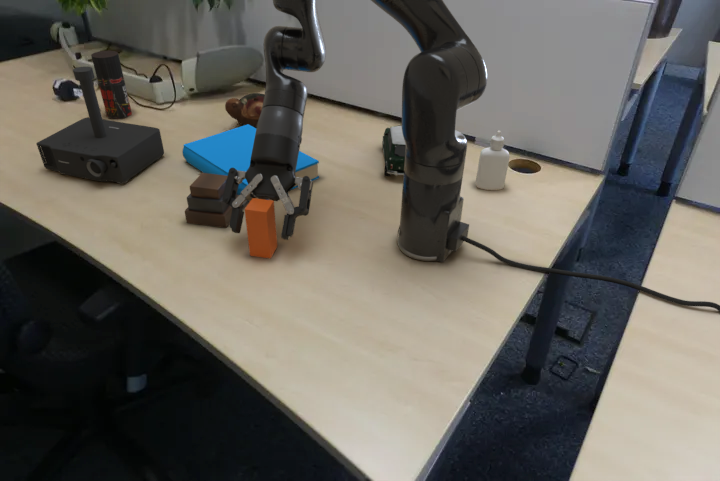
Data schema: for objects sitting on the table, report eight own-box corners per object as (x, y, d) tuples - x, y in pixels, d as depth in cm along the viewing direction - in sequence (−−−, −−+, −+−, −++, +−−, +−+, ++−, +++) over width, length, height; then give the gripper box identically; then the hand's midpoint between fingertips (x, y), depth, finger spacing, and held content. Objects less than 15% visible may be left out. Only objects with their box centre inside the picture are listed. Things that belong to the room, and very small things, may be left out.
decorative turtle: (219, 126, 133) (215, 93, 129) (272, 116, 141) (271, 85, 137) (239, 138, 126) (236, 104, 122) (293, 126, 135) (292, 94, 131)
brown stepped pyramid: (241, 206, 103) (237, 173, 99) (226, 227, 97) (221, 193, 93) (204, 201, 104) (198, 168, 100) (186, 222, 98) (180, 188, 94)
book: (247, 123, 125) (319, 158, 110) (249, 141, 127) (320, 177, 113) (179, 145, 115) (249, 187, 100) (183, 164, 117) (252, 207, 103)
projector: (37, 175, 111) (2, 78, 100) (93, 142, 124) (68, 53, 113) (117, 190, 107) (91, 91, 95) (167, 155, 120) (148, 63, 108)
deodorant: (107, 111, 139) (92, 51, 131) (132, 109, 141) (118, 49, 132) (106, 120, 135) (89, 58, 126) (131, 117, 136) (117, 56, 128)
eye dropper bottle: (481, 178, 114) (490, 124, 107) (506, 186, 111) (517, 131, 104) (472, 186, 111) (480, 131, 104) (498, 194, 108) (508, 138, 101)
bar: (277, 246, 93) (273, 200, 87) (270, 258, 90) (266, 212, 84) (257, 243, 93) (252, 197, 88) (249, 255, 90) (244, 209, 85)
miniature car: (420, 145, 126) (423, 112, 122) (428, 183, 112) (432, 147, 107) (381, 144, 126) (383, 111, 122) (384, 182, 112) (386, 146, 107)
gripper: (229, 127, 88) (209, 225, 85) (314, 135, 86) (297, 236, 83) (244, 143, 95) (226, 234, 93) (323, 152, 93) (308, 245, 90)
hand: (260, 235), depth 88 cm, fingers open, 8 cm apart
